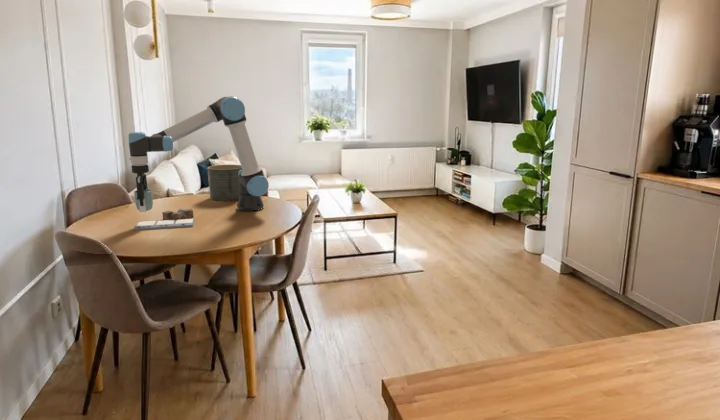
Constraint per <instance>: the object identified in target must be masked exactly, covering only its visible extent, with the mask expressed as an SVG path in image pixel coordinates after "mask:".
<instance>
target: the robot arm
mask: <svg viewBox="0 0 720 420" xmlns="http://www.w3.org/2000/svg"><path fill="white" fill-rule="evenodd" d="M245 113H246V108H245V105H244V102H243V101H242V100H241V99H240V98H238V97H236V96H223V97H221V98H219V99H217V100H216V101H215V102H213V103H211V104H209V105H208V106H207V107H206V108H205V109H203V110H201V111H200V112H198V113H195V114H194V115H191V116H189V117H188V118H186V119H185V118H184V119H183V120H181V121H180V122H177V123H175V124H173V125H171V126H168V127H167V128H165V129H163V130H161V131H159V132H157V133H154V134H152V135H151V136H149V135H148V136H147V134H146V133H145V132H142V131H138V132H134V131H133V132H129V133H128V134H127V135H128V136H127V137H128V148H129V156H130V157H129V158H128V160H130V163H131V173H132V174H136V176H135V183H136V184H135V185H136V191H137V200H138V199H139V209H140V211H139V213H146V212H147V211H146V205H145V199H144V190H146V189H148V180H147V173H149V172H150V167H149V158H148V157H149V156H148V153H150V152H151V153H152V152H154V153H155V152H164V153H166V152H171V151H173V150H174V143H175V142H176V141H179V140H182V139H183V138H184V137H186V136H188V135H191V134H192V133H193V134H194V132H196V131H198V130H200V129H202V128H204V127H207V126H208V125H210V124H212V123H219V122H221V121H222V122H223V124H224V126H225V127H226V128H228V130H229V133H230V137H231V140H232V143H233V145H234V148H235V152H236V154H237V157H238V161H239V163H240V164H239V165H241V167H242V170H239V172H238V179H239V195H240V196H239V200H237V204H236V209H237V210H238V211H240V210H242V211H241V212H254V211H253V210H257V211H259V210H258V209H261V208H263V207H265V205H264V202H263V200H262V197H261V196H263V195H265V194H266V193H267V192H268V190H269V187H270V186H269V184H270V183H269V181H268V178H267V177H265V175H264V171H263V169H262V167H260V166H259V165H258V161H257V159H256V155H255V152H254V149H253V145H252V142H251V139H250V136H249V133H248V130H247V127H246V122H247V117H246V114H245ZM148 190H149V189H148ZM263 209H264V208H263ZM261 210H262V209H261Z"/></svg>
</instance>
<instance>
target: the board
mask: <svg viewBox="0 0 720 420" xmlns="http://www.w3.org/2000/svg"><path fill="white" fill-rule="evenodd" d="M194 224H195V218H183V219H181V220H172V219H171V220H164V219H163V220H152V221H150V220H149V221H137V223H136V224H135V225H134V227H133V231H146V230H147V231H149V230H160V229H161V230H162V229H176V228H177V229H178V228H179V229H180V228H193V227H194Z"/></svg>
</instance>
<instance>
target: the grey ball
mask: <svg viewBox="0 0 720 420" xmlns="http://www.w3.org/2000/svg"><path fill="white" fill-rule="evenodd" d="M184 210H185V208H179V209H178V210H177V212H183V216H184Z"/></svg>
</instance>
